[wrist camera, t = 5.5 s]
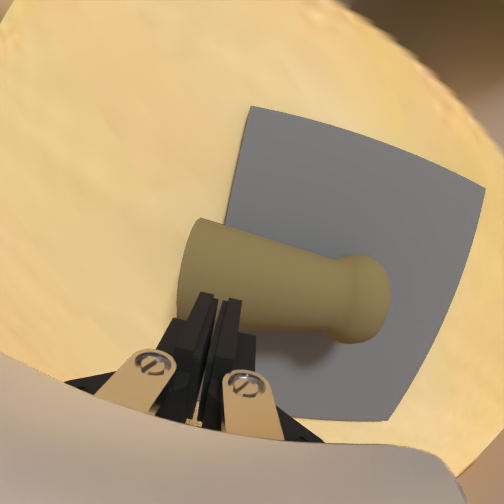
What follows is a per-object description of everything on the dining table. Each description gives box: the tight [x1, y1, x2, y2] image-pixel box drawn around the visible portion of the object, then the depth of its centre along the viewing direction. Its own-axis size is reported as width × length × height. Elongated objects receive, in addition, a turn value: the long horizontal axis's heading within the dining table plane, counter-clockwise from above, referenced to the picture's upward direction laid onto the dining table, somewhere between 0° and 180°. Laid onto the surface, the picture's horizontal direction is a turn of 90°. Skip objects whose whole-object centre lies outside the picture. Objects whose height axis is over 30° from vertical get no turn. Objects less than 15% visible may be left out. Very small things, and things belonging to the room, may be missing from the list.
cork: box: [177, 218, 391, 344], centre depth 16 cm, size 6×6×11 cm
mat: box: [197, 106, 486, 421], centre depth 19 cm, size 22×18×1 cm
